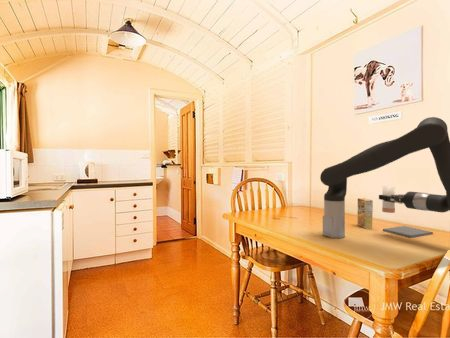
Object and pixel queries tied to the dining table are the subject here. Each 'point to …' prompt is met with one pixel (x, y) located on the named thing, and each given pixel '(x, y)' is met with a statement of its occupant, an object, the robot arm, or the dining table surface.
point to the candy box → (365, 213)
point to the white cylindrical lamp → (388, 206)
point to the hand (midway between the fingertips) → (383, 196)
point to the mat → (407, 231)
